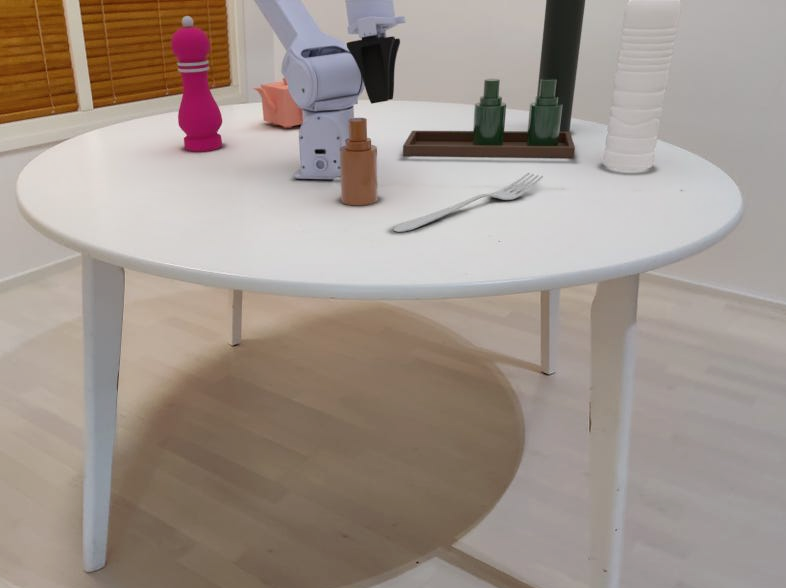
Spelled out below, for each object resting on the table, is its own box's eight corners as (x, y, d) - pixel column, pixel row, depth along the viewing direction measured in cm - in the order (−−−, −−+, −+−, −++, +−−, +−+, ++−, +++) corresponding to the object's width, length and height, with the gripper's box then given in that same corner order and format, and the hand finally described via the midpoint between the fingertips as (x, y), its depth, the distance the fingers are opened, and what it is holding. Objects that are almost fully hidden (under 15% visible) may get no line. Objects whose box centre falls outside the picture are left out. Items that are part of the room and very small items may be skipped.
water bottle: (631, 176, 94) (668, -39, 82) (591, 167, 99) (620, -38, 86) (671, 165, 98) (712, -42, 86) (631, 156, 103) (664, -41, 90)
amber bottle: (374, 206, 87) (373, 123, 82) (337, 205, 88) (334, 123, 83) (380, 195, 91) (379, 115, 86) (345, 194, 92) (342, 115, 87)
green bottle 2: (558, 152, 104) (566, 81, 99) (526, 152, 105) (532, 81, 100) (556, 145, 108) (564, 76, 103) (525, 145, 109) (531, 77, 104)
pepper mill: (229, 142, 122) (215, 13, 112) (219, 152, 116) (203, 16, 106) (188, 142, 123) (171, 15, 113) (176, 152, 116) (156, 18, 107)
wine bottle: (564, 128, 121) (588, -78, 106) (573, 136, 116) (600, -79, 101) (530, 129, 121) (549, -76, 106) (537, 137, 116) (559, -78, 101)
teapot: (241, 125, 134) (236, 78, 130) (307, 114, 141) (305, 69, 137) (272, 135, 125) (268, 85, 121) (341, 122, 132) (340, 75, 128)
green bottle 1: (502, 152, 106) (508, 82, 101) (471, 151, 107) (475, 82, 102) (503, 145, 110) (508, 77, 105) (473, 144, 111) (476, 77, 106)
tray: (573, 162, 101) (574, 147, 100) (403, 159, 107) (403, 145, 106) (568, 145, 110) (570, 131, 109) (411, 143, 116) (412, 130, 114)
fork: (385, 228, 80) (385, 213, 79) (524, 185, 92) (526, 171, 92) (405, 235, 78) (405, 219, 77) (545, 190, 90) (546, 176, 89)
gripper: (395, -34, 77) (410, 97, 82) (403, -17, 91) (416, 94, 95) (332, -21, 79) (351, 107, 83) (349, -6, 92) (365, 103, 97)
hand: (382, 101), depth 89 cm, fingers open, 7 cm apart
